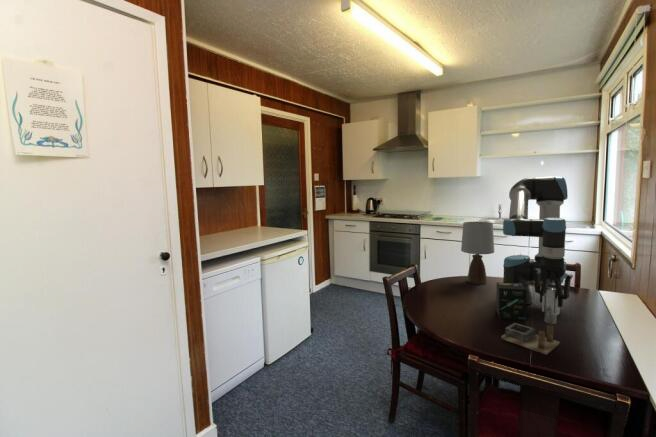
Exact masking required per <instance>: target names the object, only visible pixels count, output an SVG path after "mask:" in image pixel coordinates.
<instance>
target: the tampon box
mask: <svg viewBox="0 0 656 437" xmlns="http://www.w3.org/2000/svg"><path fill="white" fill-rule="evenodd" d="M495 303H496V307H495V310H496V314H497V316H498V318H499V319H500V320H512V321H521V322H522V321H523V322H525V321H526V315H527V314H526V313H527V304H526V288H525V287H524V286H523V284H516V283H503V282H496V302H495Z"/></svg>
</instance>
